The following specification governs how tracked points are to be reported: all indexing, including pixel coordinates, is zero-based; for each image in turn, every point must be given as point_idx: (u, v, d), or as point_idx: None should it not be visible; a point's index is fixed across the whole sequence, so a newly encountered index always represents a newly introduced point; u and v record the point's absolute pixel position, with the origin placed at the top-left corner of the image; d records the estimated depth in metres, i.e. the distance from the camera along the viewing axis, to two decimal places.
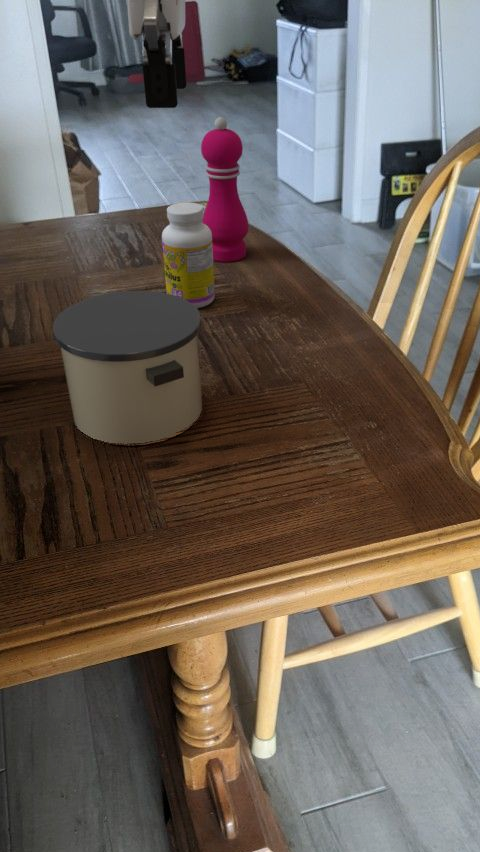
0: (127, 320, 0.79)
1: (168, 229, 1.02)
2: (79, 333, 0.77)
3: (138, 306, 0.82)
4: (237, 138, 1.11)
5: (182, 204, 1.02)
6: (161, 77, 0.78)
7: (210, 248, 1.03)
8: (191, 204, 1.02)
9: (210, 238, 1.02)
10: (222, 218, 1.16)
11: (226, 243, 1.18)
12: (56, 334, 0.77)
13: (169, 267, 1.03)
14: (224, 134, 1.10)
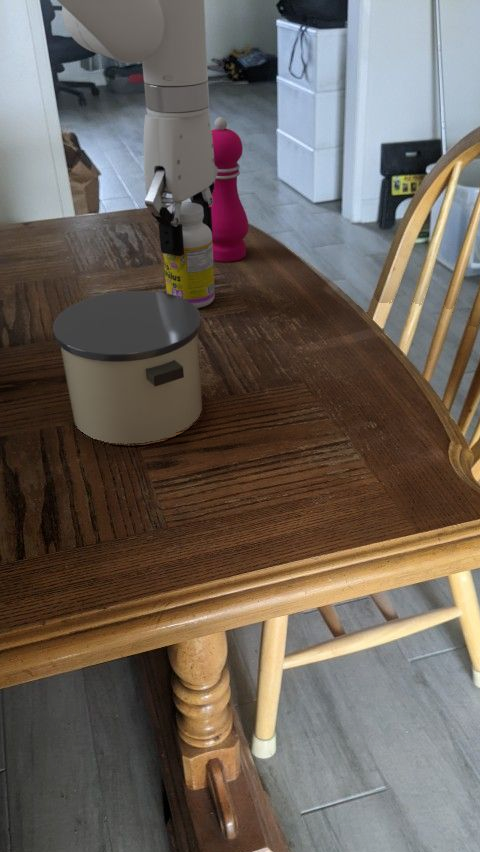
0: (127, 320, 0.79)
1: None
2: (79, 333, 0.77)
3: (138, 306, 0.82)
4: (237, 138, 1.11)
5: (182, 204, 1.02)
6: (168, 234, 0.99)
7: (210, 248, 1.03)
8: (191, 204, 1.02)
9: (210, 238, 1.02)
10: (222, 218, 1.16)
11: (226, 243, 1.18)
12: (56, 334, 0.77)
13: (169, 267, 1.03)
14: (224, 134, 1.10)
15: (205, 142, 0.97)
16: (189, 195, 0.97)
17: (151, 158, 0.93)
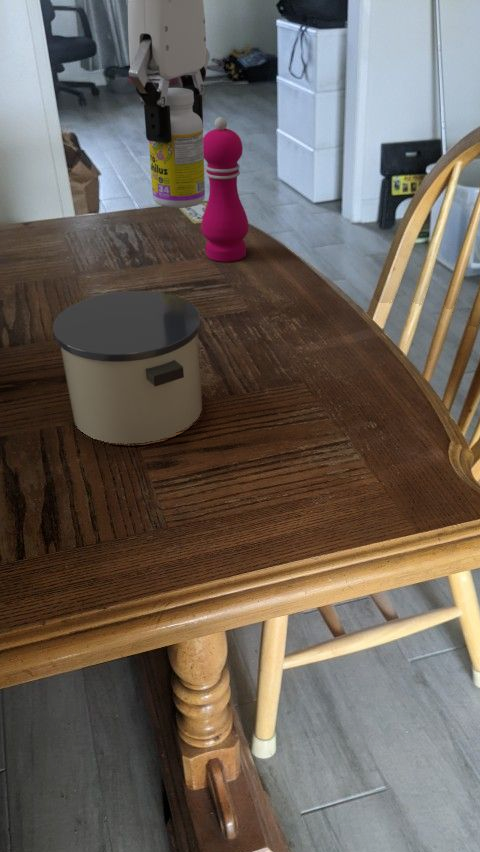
0: (127, 320, 0.79)
1: None
2: (79, 333, 0.77)
3: (138, 306, 0.82)
4: (237, 138, 1.11)
5: (171, 89, 0.93)
6: (155, 116, 0.90)
7: (200, 138, 0.94)
8: (180, 89, 0.93)
9: (201, 127, 0.94)
10: (222, 218, 1.16)
11: (226, 243, 1.18)
12: (56, 334, 0.77)
13: (155, 158, 0.94)
14: (224, 134, 1.10)
15: (196, 14, 0.88)
16: (178, 72, 0.89)
17: (136, 25, 0.85)
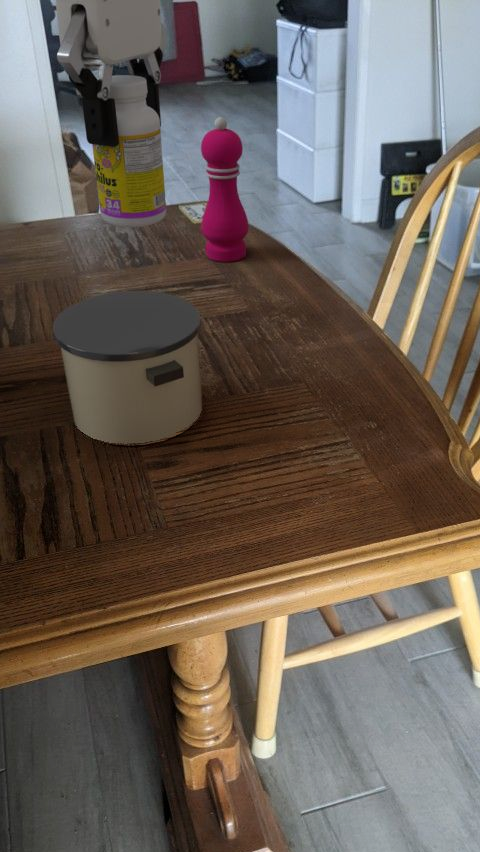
0: (127, 320, 0.79)
1: None
2: (79, 333, 0.77)
3: (138, 306, 0.82)
4: (237, 138, 1.11)
5: (118, 77, 0.73)
6: (96, 112, 0.70)
7: (157, 140, 0.74)
8: (130, 76, 0.73)
9: (157, 125, 0.74)
10: (222, 218, 1.16)
11: (226, 243, 1.18)
12: (56, 334, 0.77)
13: (100, 166, 0.74)
14: (224, 134, 1.10)
15: None
16: (124, 55, 0.68)
17: None
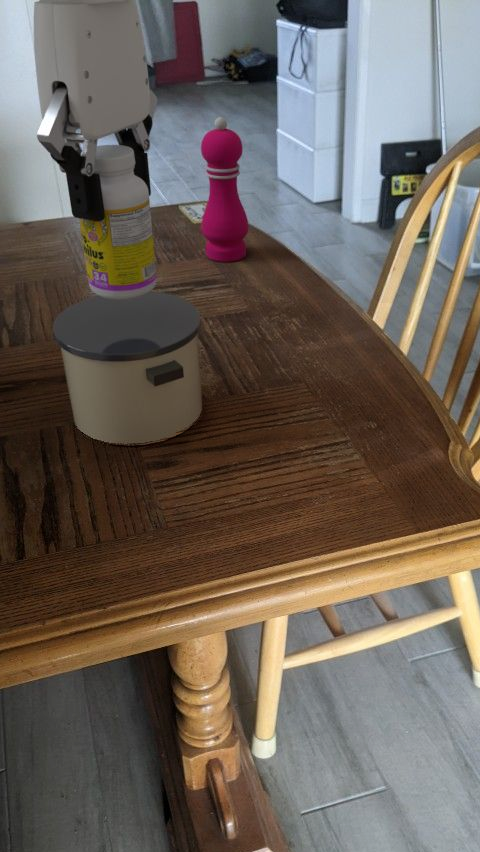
0: (127, 320, 0.79)
1: None
2: (79, 333, 0.77)
3: (138, 306, 0.82)
4: (237, 138, 1.11)
5: (105, 147, 0.70)
6: (80, 188, 0.67)
7: (146, 211, 0.71)
8: (117, 147, 0.70)
9: (145, 196, 0.71)
10: (222, 218, 1.16)
11: (226, 243, 1.18)
12: (56, 334, 0.77)
13: (86, 238, 0.72)
14: (224, 134, 1.10)
15: (132, 50, 0.65)
16: (108, 130, 0.66)
17: (46, 69, 0.62)
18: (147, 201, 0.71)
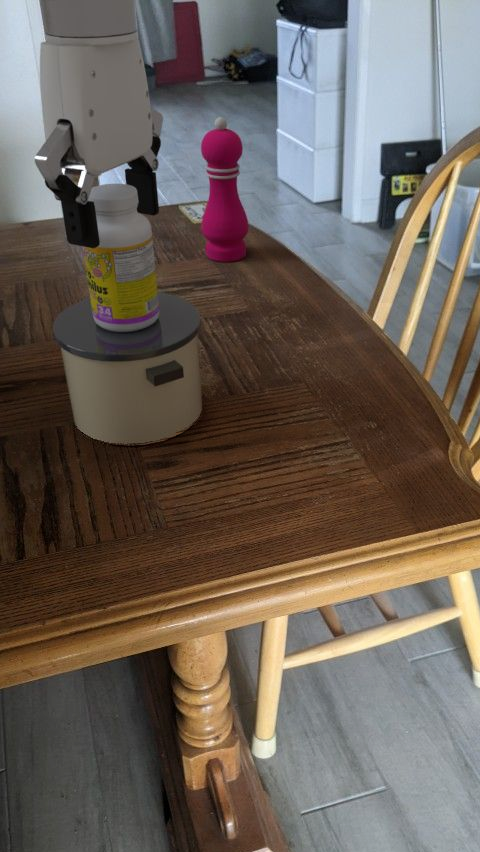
0: None
1: None
2: (79, 333, 0.77)
3: None
4: (237, 138, 1.11)
5: (109, 187, 0.72)
6: (75, 216, 0.67)
7: (149, 248, 0.73)
8: (121, 186, 0.72)
9: (148, 234, 0.73)
10: (222, 218, 1.16)
11: (226, 243, 1.18)
12: (56, 334, 0.77)
13: (91, 274, 0.74)
14: (224, 134, 1.10)
15: (135, 87, 0.67)
16: (112, 164, 0.67)
17: (52, 108, 0.63)
18: (150, 238, 0.73)
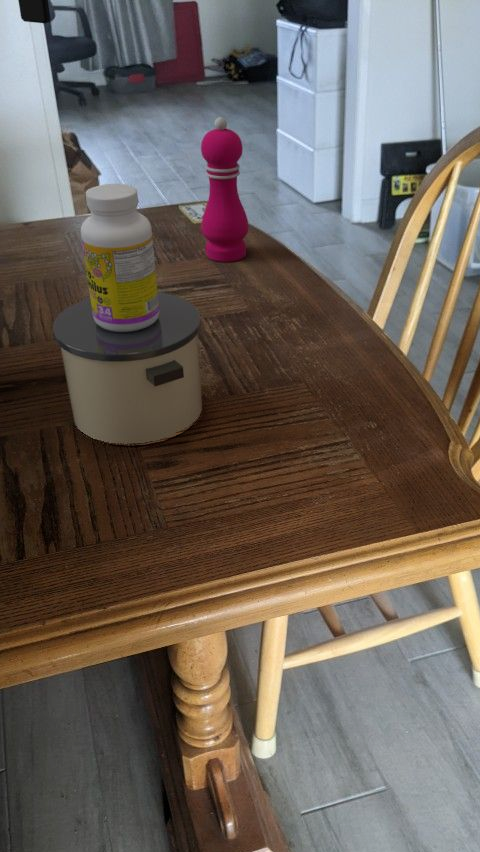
0: None
1: (89, 221, 0.72)
2: (79, 333, 0.77)
3: None
4: (237, 138, 1.11)
5: (109, 187, 0.72)
6: None
7: (149, 248, 0.73)
8: (121, 186, 0.72)
9: (148, 234, 0.73)
10: (222, 218, 1.16)
11: (226, 243, 1.18)
12: (56, 334, 0.77)
13: (91, 274, 0.74)
14: (224, 134, 1.10)
15: None
16: None
17: None
18: (150, 238, 0.73)
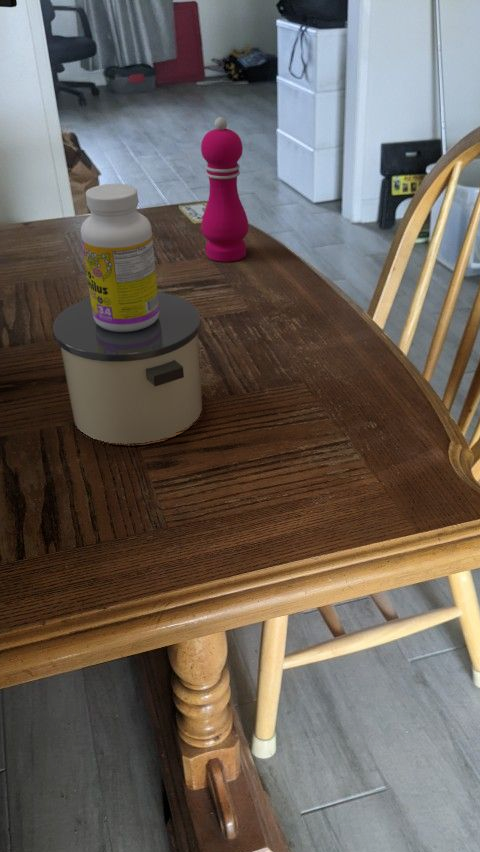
0: None
1: (89, 221, 0.72)
2: (79, 333, 0.77)
3: None
4: (237, 138, 1.11)
5: (109, 187, 0.72)
6: None
7: (149, 248, 0.73)
8: (121, 186, 0.72)
9: (148, 234, 0.73)
10: (222, 218, 1.16)
11: (226, 243, 1.18)
12: (56, 334, 0.77)
13: (91, 274, 0.74)
14: (224, 134, 1.10)
15: None
16: None
17: None
18: (150, 238, 0.73)
